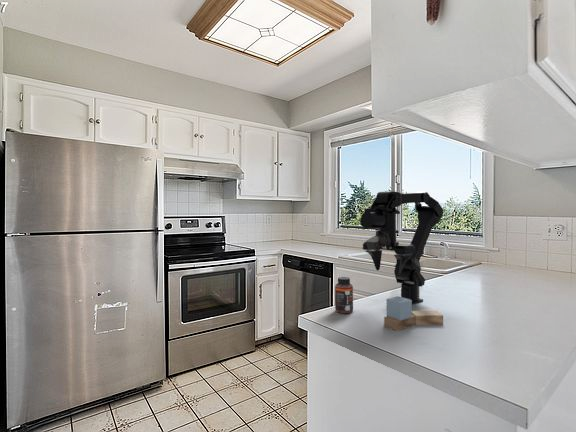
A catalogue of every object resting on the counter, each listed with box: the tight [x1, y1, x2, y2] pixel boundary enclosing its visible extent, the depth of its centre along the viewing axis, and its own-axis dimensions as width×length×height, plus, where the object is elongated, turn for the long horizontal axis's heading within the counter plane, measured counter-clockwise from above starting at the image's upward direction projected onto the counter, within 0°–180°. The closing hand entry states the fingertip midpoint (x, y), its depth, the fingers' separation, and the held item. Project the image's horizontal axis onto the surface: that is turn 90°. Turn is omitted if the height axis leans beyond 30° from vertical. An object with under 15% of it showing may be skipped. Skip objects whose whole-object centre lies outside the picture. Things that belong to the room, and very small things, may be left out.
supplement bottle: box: [334, 276, 354, 314], centre depth 111 cm, size 6×6×11 cm
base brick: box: [383, 315, 416, 331], centre depth 97 cm, size 8×4×3 cm, turn 122°
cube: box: [386, 295, 413, 320], centre depth 97 cm, size 5×5×5 cm
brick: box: [412, 310, 444, 326], centre depth 99 cm, size 8×4×3 cm, turn 89°
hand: (387, 272), depth 115 cm, fingers open, 9 cm apart
